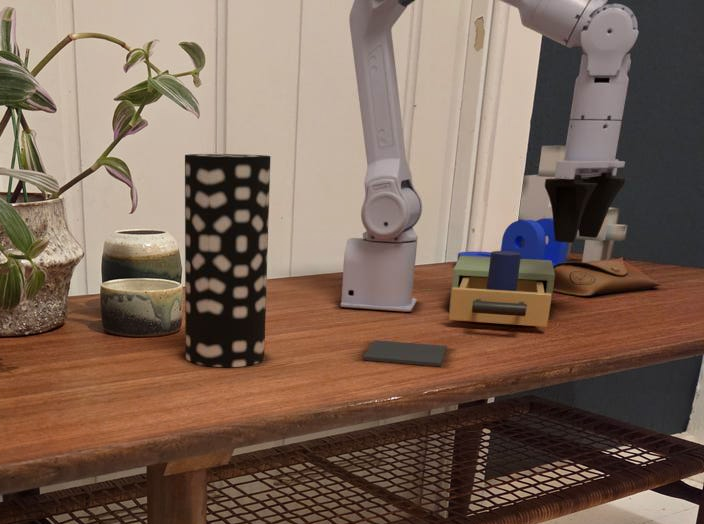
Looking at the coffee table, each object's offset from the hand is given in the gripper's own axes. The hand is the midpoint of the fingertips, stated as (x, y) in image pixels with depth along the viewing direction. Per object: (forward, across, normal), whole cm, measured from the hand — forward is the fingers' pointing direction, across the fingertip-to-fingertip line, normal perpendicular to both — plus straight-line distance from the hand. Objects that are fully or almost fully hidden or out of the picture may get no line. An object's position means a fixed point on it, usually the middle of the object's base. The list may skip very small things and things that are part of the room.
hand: (576, 239), depth 109 cm
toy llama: (+10, +50, +20) cm, 55 cm away
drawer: (+9, -8, +5) cm, 13 cm away
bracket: (+10, +35, +25) cm, 44 cm away
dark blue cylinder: (+8, -6, +6) cm, 12 cm away
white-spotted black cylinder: (+10, -45, +18) cm, 49 cm away
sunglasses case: (+10, +28, +5) cm, 31 cm away
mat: (+10, -30, +5) cm, 32 cm away
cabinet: (+10, +4, +11) cm, 15 cm away
